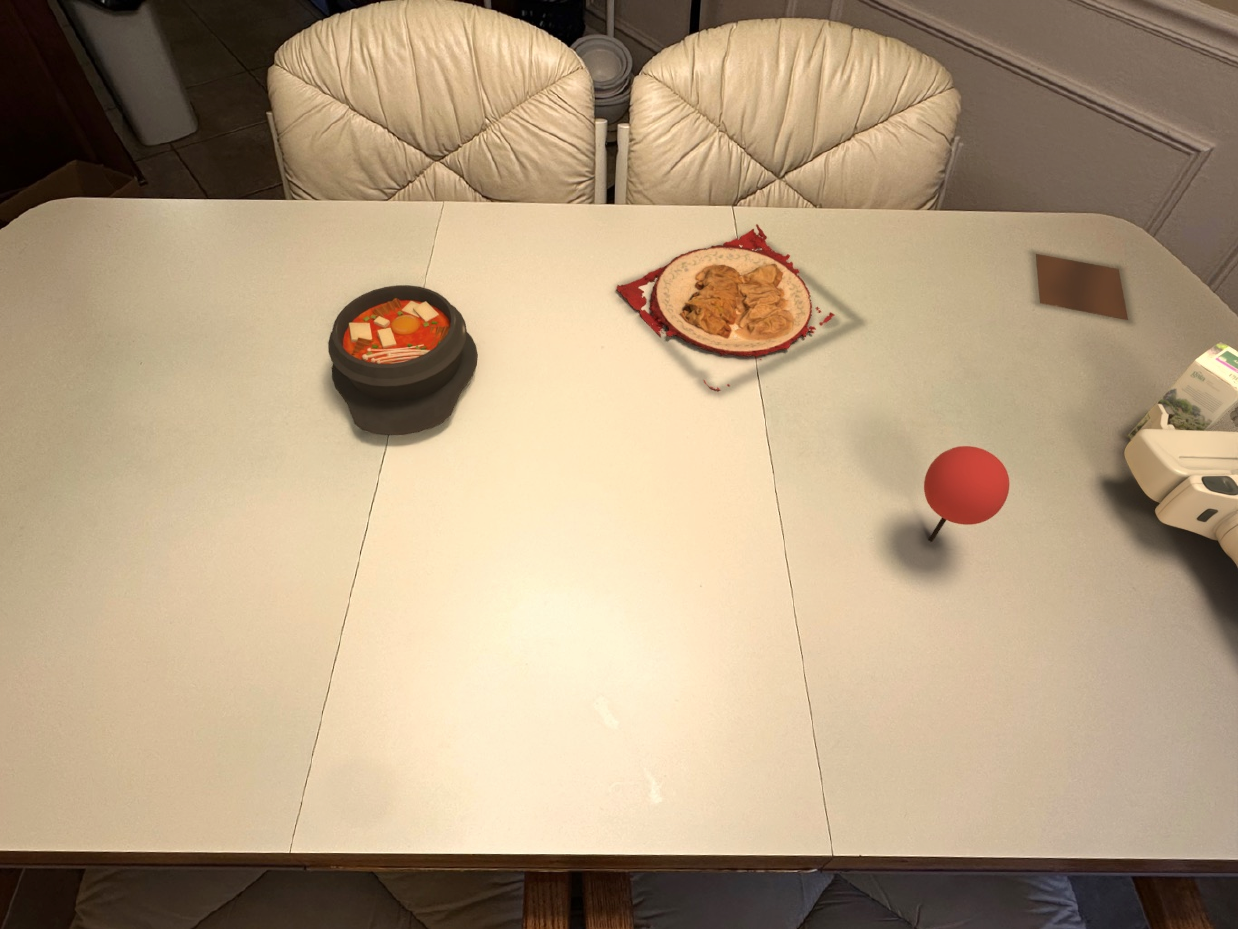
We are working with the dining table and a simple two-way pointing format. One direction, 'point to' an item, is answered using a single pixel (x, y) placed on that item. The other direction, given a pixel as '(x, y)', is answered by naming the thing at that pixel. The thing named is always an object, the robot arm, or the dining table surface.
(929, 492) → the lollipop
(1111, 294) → the stand
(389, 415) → the casserole
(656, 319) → the plate with food
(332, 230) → the dining table surface
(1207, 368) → the syrup box
